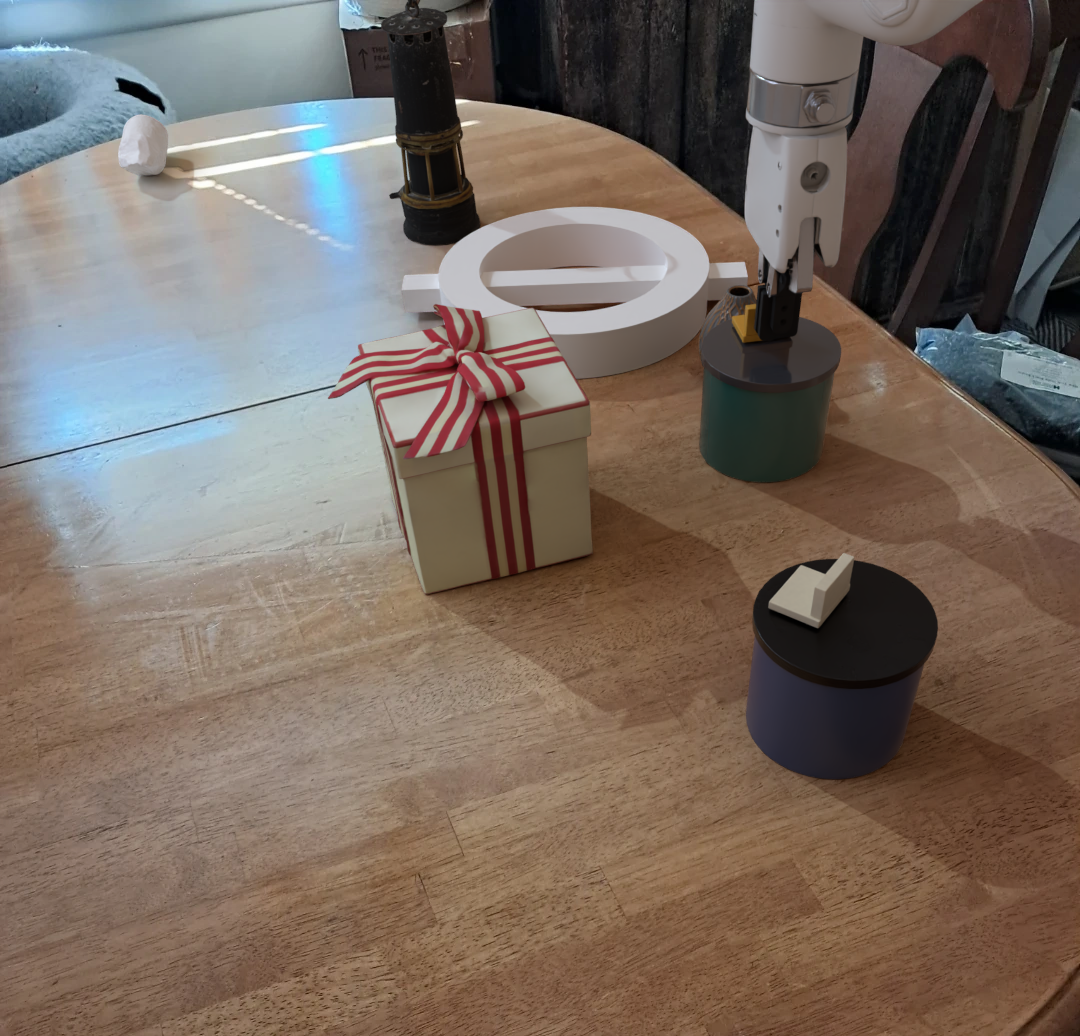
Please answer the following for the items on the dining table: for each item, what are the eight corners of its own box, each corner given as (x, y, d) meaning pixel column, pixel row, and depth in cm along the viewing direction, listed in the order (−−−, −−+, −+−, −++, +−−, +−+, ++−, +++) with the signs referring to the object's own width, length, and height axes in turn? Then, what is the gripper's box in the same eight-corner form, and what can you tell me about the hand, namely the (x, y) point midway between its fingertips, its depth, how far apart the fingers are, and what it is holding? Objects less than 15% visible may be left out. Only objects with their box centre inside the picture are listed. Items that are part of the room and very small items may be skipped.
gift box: (344, 507, 101) (304, 324, 88) (539, 454, 105) (528, 272, 92) (398, 627, 90) (361, 439, 77) (614, 564, 94) (613, 374, 81)
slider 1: (793, 336, 97) (797, 303, 95) (742, 343, 97) (745, 309, 95) (781, 316, 100) (784, 283, 98) (731, 322, 99) (734, 289, 97)
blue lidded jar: (936, 702, 82) (967, 597, 74) (864, 809, 76) (890, 706, 68) (789, 641, 87) (805, 536, 79) (710, 736, 81) (719, 633, 73)
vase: (688, 363, 114) (693, 278, 108) (756, 353, 115) (764, 268, 108) (708, 400, 109) (713, 314, 103) (778, 389, 110) (788, 303, 104)
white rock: (123, 194, 149) (109, 149, 145) (129, 158, 157) (116, 115, 153) (170, 189, 150) (157, 144, 146) (173, 153, 158) (161, 109, 154)
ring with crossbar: (390, 315, 124) (383, 272, 120) (574, 226, 136) (573, 185, 133) (574, 411, 109) (572, 366, 106) (761, 301, 122) (765, 258, 118)
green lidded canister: (843, 475, 100) (861, 373, 93) (714, 492, 100) (721, 391, 92) (803, 403, 108) (816, 304, 101) (682, 419, 107) (686, 321, 100)
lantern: (388, 229, 138) (344, -65, 116) (447, 204, 142) (415, -85, 120) (435, 252, 133) (399, -50, 111) (495, 226, 137) (471, -72, 115)
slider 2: (849, 590, 75) (856, 554, 73) (818, 629, 73) (824, 593, 71) (799, 571, 77) (805, 535, 75) (767, 608, 74) (772, 572, 72)
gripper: (890, 127, 77) (849, 374, 90) (818, 53, 87) (791, 286, 100) (780, 140, 76) (756, 387, 90) (721, 64, 86) (707, 296, 100)
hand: (775, 333), depth 95 cm, fingers closed
